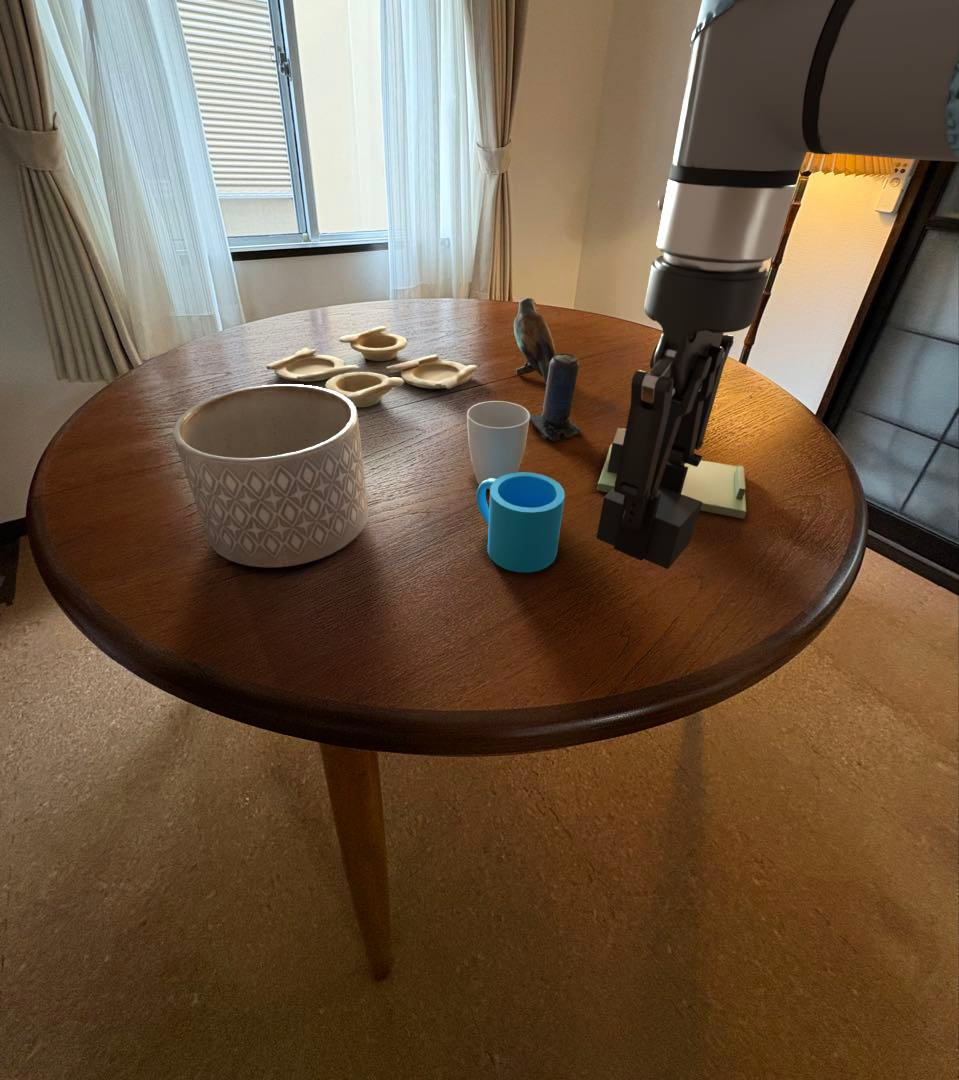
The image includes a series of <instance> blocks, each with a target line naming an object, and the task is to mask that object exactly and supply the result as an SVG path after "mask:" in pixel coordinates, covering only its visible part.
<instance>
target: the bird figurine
mask: <svg viewBox="0 0 959 1080" xmlns="http://www.w3.org/2000/svg"><path fill="white" fill-rule="evenodd" d="M536 305H537V302H536V301H535V299H533V298H532V297H525V298H523V299H522V300H520V301H519V303H518V311H517V312H518V313H517V316H516V317H515V318H514V320H513V333H514V339H515V341H516V343H517V346H518V348H519V351H520V352H521V353H522V355H523V357H524V358H525V359H526V360H525V362H524V364H523V366H521V367H518V368H516V369H515V373H516V375H517V376H522V375H525V374H528V373H533V372H535V371H536V373H538V374H539V375H540V376H541V378H543V380H544V383H545V385H547V378H548V372H549V365H550V361H551V359H552V358H553V357H554V355H555V354H557V351H556V348H555V344H554V339H553V336H552V333H551V330H550V328H549V326H548V323H547V319H546V317H545V316H543V315H542V314H541V313H539V312H538V311H537V310H536ZM528 363H529V364H528Z"/></svg>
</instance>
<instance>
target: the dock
mask: <svg viewBox="0 0 959 1080" xmlns="http://www.w3.org/2000/svg"><path fill="white" fill-rule="evenodd" d="M625 431H626V428H621V427H617V428H616V431H615V435H614V437H613V440H612V444H610V446H609V448H608V452H607V455H606V458H605V461H604V464H603V467H602V470H601V474H600V475H599V476H600V477H599V480H598V482H597V487H596V491H599V492H603V493H607V494H608V493H610V492H611V491H612V490H613V489H614V487H615V481H616V477H617V472H618V467H619V462H620V457H621V451H622V446H623V441H624V436H625ZM685 466H686V467H688V470H687V474H686V478H685V481H684V485H683V489H682V492H681V494H682V495H685V496H688V497H690V498H693V499H696V500H699V501H702V506H701V509H700V511H701V512H705V513H712V514H716V515H722V516H727V517H730V518H731V517H732V518H736V519H742V520H743V519H745V517H746V513H747V503H746V491H747V488H746V475H745V474H746V473H745V466H744V465H732V464H725V463H719V462H714V461H709V460H708V461H707V460H703V459H701V461H700V464H699V465H698V466H697V467H696V466H693V465H690V464H687V463H685Z"/></svg>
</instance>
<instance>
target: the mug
mask: <svg viewBox="0 0 959 1080" xmlns="http://www.w3.org/2000/svg"><path fill="white" fill-rule="evenodd" d="M489 486H491V487H490V489H489V505H488V502H487V496H486V493H487V490H488V489H487V488H488V487H489ZM565 494H566V493H565V489H564V488H563V487H562V485H561V484H560V482H558V481H556V480H555V479H554V478H552V477H549V476H546V475H545V474H541V473H537V472H531V471H530V472H529V471H528V472H527V471H518V473H510V474H507V475H504V476H501V477H499V478H498V479H494V478H490V479H488V480H485V481H483V482H482V483H481V484H480V485H478V487H477V489H476V495H475V497H476V504H477V507H478V510H479V512H480V514H481V516H482V518H483V519H484V521H485V522H486V523H487V524H488V529H487V554H488V555H489V558H490V559H491V560H492V561H493V563H495V564H496V565H497V566H499V567H501V568H503V569H505V570H508V571H512V572H515V573H526V574H528V573H534V572H535V573H536V572H539V571H542V570H544V569H547V568H548V567H549V566H551V565H552V564H553V563H554V562H555V561H556V557H557V555H558V548H559V540H560V535H561V534H560V533H561V526H562V520H563V511H564V505H565V497H566V495H565Z"/></svg>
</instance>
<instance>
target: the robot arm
mask: <svg viewBox="0 0 959 1080" xmlns="http://www.w3.org/2000/svg"><path fill="white" fill-rule="evenodd" d="M689 48H690V55H689V62H688V69H687V75H686V81H685V89H684V94H683V100H682V106H681V111H680V117H679V124H678V128H677V135H676V140H675V146H674V152H673V158H672V162H671V165H670V171H669V175H668V180H667V185H666V191H665V194H663V195H661V196H660V198H659V199H658V202H657V208H658V209H659V211H660V212H661V217H660V224H659V229H658V234H657V239H656V246H657V248H658V250H659V251H660V252H661V253H663V255H660V256H657V258H656V259H655V260H654V261H653V262H652V263H651V266H650V272H649V278H648V283H647V289H646V293H645V299H644V303H643V304H644V305H643V310H644V313H645V315H646V316H647V318H649V319H650V320H652V321H653V322H657V323H658V324H659V325H660V327H661V328H662V329H661V330H662V333H661V335H660V337H659V338H660V339H659V341H658V344H656V345H655V347H654V349H653V352H652V354H651V355H652V356H651V359H650V363H649V368H650V370H649V372H648V371H644V370H641V369H637V370H636V371H635V372H634V374H633V376H632V378H631V387H630V388H631V389H630V390H631V391H630V407H629V411H628V416H627V422H626V427H625V429H626V431H625V436H624V441H623V446H622V451H621V457H620V462H619V467H618V472H617V477H616V481H615V487H614V491H615V492H617V493H620V494H622V495H625V497H624V502H623V506H622V511H621V516H620V521H619V526H618V531H617V535H616V540H615V545H614V546H613V550H616V551H617V552H620V553H623V554H625V555H627V556H630V557H632V558H634V559H635V560H636V559H637V560H639V561H640V562H641V561H644V560H645V559H644V558H645V556H646V552H647V548H648V544H649V540H650V536H651V532H652V528H653V524H654V520H655V517H656V513H657V509H658V505H659V501H660V497H661V494H660V493H658V488H659V486H660V487H663V488H666V489H668V490H671V491H674V492H677V493H679V494H681V492H682V489H683V485H684V481H685V478H686V474H687V470H688V467H686V466H685V463H687V464H690V465H693V466H696V467H697V466H698V465H699V464H700V461H701V460H703V455H700V454H696V453H695V450H697V451H699V450H700V449H701V448H702V446H703V444H704V440H705V439H704V438H705V435H706V431H707V427H708V424H709V420H710V417H711V413H712V410H713V406H714V404H715V399H716V396H717V393H718V389H719V385H720V382H721V378H722V374H723V371H724V368H725V364H726V363H727V362H726V361H727V359H728V357H729V355H730V354H729V353H730V351H731V349H732V348H733V345H734V337H735V336H734V335H731V334H726V333H734V332H735V333H736V332H739V331H742V330H745V329H746V328H749V327H750V326H751V325H752V324H753V323H754V322H755V321H756V318H757V315H758V312H759V309H760V305H761V302H762V299H763V295H764V293H765V289H766V286H767V282H768V279H769V277H770V276H769V275H770V273H769V271H768V268H767V266H766V265H765V264H764V262H766V261H769V260H771V259H772V258H773V257H775V256H776V255H777V252H778V248H779V246H780V241H781V238H782V236H783V231H784V228H785V225H786V221H787V218H788V214H789V211H790V208H791V204H792V201H793V197H794V195H795V191H796V187H797V186H796V185H797V183H798V180H799V176H800V172H801V169H802V166H803V163H804V161H805V158H806V155H807V153H812V154H813V155H814V154H815V155H833V154H837V155H838V154H840V155H851V156H861V157H862V156H864V157H878V158H889V159H900V160H902V159H903V160H919V161H920V160H921V161H937V162H938V161H940V162H956V163H957V162H958V163H959V0H701V4H700V9H699V13H698V17H697V21H696V26H695V27H694V30H693V31H692V34H691V37H690V45H689Z"/></svg>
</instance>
